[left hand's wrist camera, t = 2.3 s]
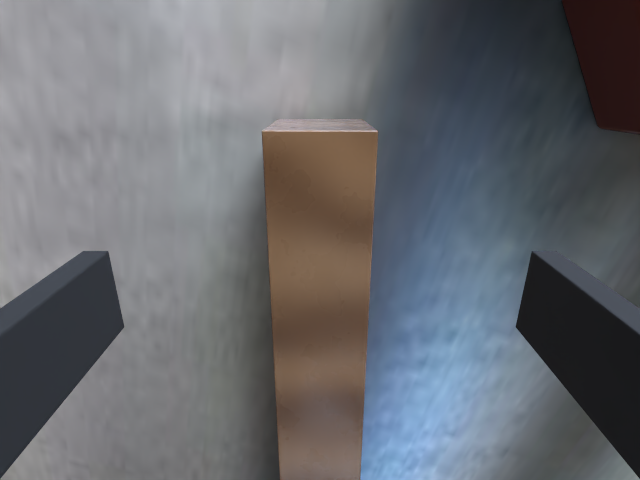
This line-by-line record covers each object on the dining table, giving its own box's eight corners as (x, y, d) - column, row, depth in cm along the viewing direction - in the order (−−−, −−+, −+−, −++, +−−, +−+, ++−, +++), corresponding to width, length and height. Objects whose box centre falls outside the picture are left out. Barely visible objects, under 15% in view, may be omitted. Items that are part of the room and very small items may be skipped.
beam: (277, 119, 26) (261, 130, 19) (362, 119, 26) (378, 130, 19) (294, 590, 44) (290, 682, 37) (345, 590, 44) (349, 682, 37)
